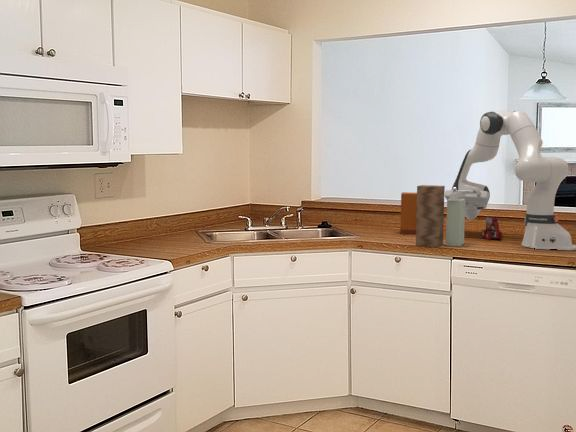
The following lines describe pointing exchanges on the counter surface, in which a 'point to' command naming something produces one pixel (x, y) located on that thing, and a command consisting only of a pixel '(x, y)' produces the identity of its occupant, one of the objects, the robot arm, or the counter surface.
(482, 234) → the toy fire truck
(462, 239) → the green block
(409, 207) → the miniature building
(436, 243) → the walnut box
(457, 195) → the aluminium bar
